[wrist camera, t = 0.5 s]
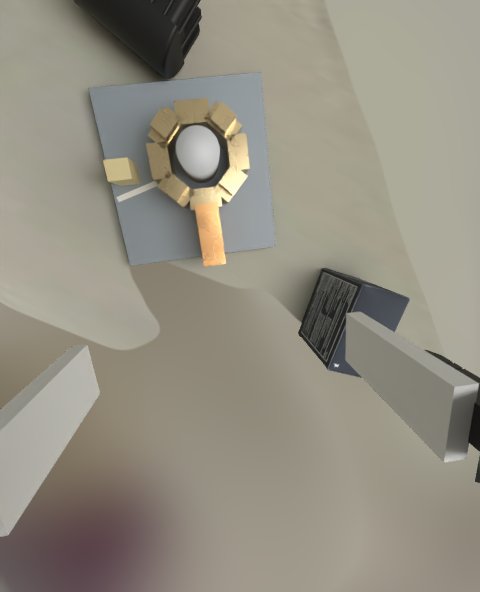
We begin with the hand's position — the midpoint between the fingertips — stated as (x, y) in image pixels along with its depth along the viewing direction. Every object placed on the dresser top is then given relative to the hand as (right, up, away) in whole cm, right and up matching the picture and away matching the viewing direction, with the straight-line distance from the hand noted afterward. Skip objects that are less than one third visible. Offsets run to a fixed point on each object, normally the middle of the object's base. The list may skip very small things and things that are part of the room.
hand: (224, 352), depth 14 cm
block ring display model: (-5, +17, +19) cm, 27 cm away
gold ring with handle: (-3, +15, +18) cm, 24 cm away
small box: (+14, +1, +26) cm, 30 cm away
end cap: (-9, +31, +15) cm, 36 cm away
